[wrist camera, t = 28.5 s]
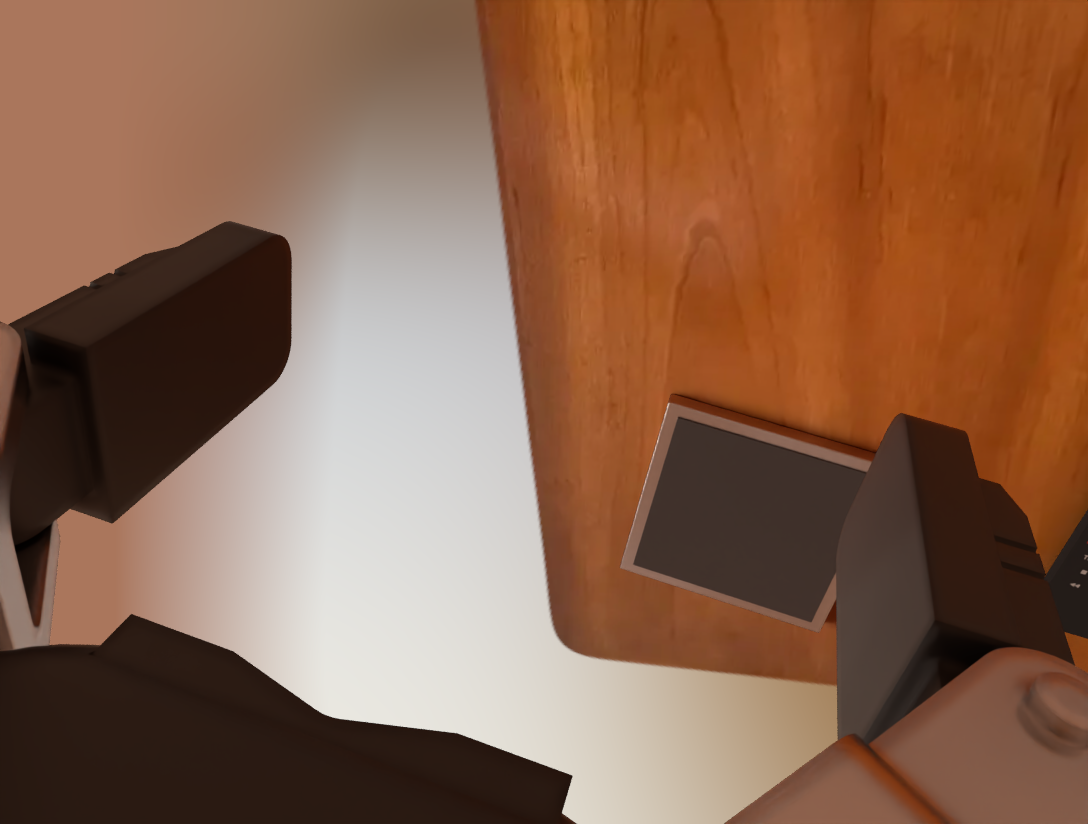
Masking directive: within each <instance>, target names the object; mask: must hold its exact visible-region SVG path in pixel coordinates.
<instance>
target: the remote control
mask: <svg viewBox="0 0 1088 824" xmlns="http://www.w3.org/2000/svg"><path fill="white" fill-rule="evenodd" d="M1044 580H1045V581H1048V583H1049V586H1050V589H1051V593H1052V596H1053V599H1054V602H1055V605H1056V608H1057V611H1058V614H1059V617H1060V621H1061V624H1062V627H1063V630H1064V632H1067V633H1070V634H1074V635H1077V636H1081V637H1084V638H1087V639H1088V510H1087V512H1086V513H1085V515H1084V516H1083V518H1082V519H1081V521H1080V523H1079V524H1078V526H1077V527H1076V529H1075V530H1074V532H1073V534H1072V535H1071V537H1070V538H1069V540H1068V541H1067V543H1066V545H1065V546H1064V548H1063V549H1062V551H1061V553H1060V554H1059V556H1058V557H1057V559H1056V560H1055V562H1054V564H1053V565H1052V567H1051V568H1050V570H1049V571H1048V573H1047V575H1046V576H1045V578H1044Z"/></svg>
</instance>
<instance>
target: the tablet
mask: <svg viewBox="0 0 1088 824" xmlns="http://www.w3.org/2000/svg"><path fill="white" fill-rule="evenodd" d="M875 454H876V453H873V452H869V451H866V450H863V449H859V448H856V447H852V446H849V445H845V444H842V443H839V442H835V441H832V440H828V439H825V438H821V437H818V436H815V435H811V434H808V433H804V432H801V431H797V430H794V429H791V428H787V427H784V426H780V425H777V424H773V423H770V422H767V421H763V420H760V419H756V418H753V417H750V416H746V415H743V414H739V413H736V412H732V411H729V410H726V409H722V408H719V407H715V406H712V405H708V404H705V403H702V402H698V401H695V400H691V399H688V398H684V397H681V396H678V395H674V394H671V395H670V398H669V402H668V405H667V408H666V412H665V415H664V418H663V422H662V425H661V429H660V432H659V435H658V439H657V442H656V446H655V449H654V452H653V456H652V459H651V463H650V466H649V469H648V473H647V476H646V480H645V483H644V486H643V490H642V493H641V497H640V500H639V503H638V507H637V510H636V514H635V517H634V520H633V524H632V527H631V531H630V534H629V537H628V541H627V544H626V548H625V551H624V554H623V558H622V561H621V565H620V568H621V569H624V570H627V571H631V572H634V573H637V574H640V575H643V576H646V577H649V578H652V579H655V580H658V581H661V582H664V583H667V584H670V585H673V586H677V587H680V588H683V589H686V590H689V591H692V592H695V593H698V594H701V595H704V596H707V597H710V598H713V599H716V600H720V601H723V602H726V603H729V604H732V605H735V606H738V607H741V608H744V609H747V610H750V611H753V612H756V613H759V614H762V615H766V616H769V617H772V618H775V619H778V620H781V621H784V622H787V623H790V624H793V625H796V626H799V627H802V628H805V629H808V630H812V631H815V632H818V633H819V632H820V630H821V628H822V626H823V624H824V622H825V620H826V618H827V616H828V614H829V612H830V610H831V608H832V606H833V604H834V603H835V601H836V555H837V548H838V543H839V538H840V534H841V531H842V528H843V525H844V522H845V519H846V516H847V514H848V512H849V509H850V507H851V505H852V503H853V501H854V499H855V497H856V495H857V492H858V490H859V488H860V486H861V484H862V482H863V480H864V478H865V476H866V473H867V471H868V469H869V467H870V465H871V463H872V461H873V459H874V457H875Z"/></svg>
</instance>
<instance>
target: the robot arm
mask: <svg viewBox="0 0 1088 824" xmlns="http://www.w3.org/2000/svg"><path fill="white" fill-rule="evenodd" d="M291 261H292V260H291V251H290V246H289V244H288V242H287V240H286V239H285V238H284V237H283V236H281V235H277V234H274V233H270V232H267V231H263V230H259V229H256V228H253V227H249V226H245V225H242V224H238V223H235V222H231V221H229V222H224V223H222V224H220V225H218V226H216V227H214V228H212V229H210V230H209V231H207V232H205V233H203V234H201V235H199V236H197V237H195V238H193V239H191V240H190V241H188V242H186V243H184V244H182V245H180V246H178V247H175V248H170V249H166V250H161V251H157V252H153V253H149V254H145V255H143V256H141V257H139V258H137V259H135V260H133V261H131V262H129V263H127V264H125V265H123V266H121V267H119V268H117V269H115V273H114V274H112V273H108V274H106V275H104V276H102V277H100V278H98V279H96V280H94V281H92V282H90V286H89V287H87V286H82V287H80V288H78V289H77V290H74V291H73V292H71V293H69V294H67V295H65V296H63V297H61V298H59V299H57V300H55V301H53V302H51V303H49V304H47V305H45V306H43V307H41V308H39V309H38V310H36V311H34V312H32V313H30V314H28V315H26V316H24V317H22V318H20V319H18V320H16V321H14V322H12V323H10V324H9V325H7V324H5V323H2V322H0V824H576V823H575V822H573V821H572V820H570V819H569V818H568V817H566V816H565V815H563V814H562V810H563V807H564V803H565V800H566V796H567V793H568V790H569V786H570V783H571V779H572V775H569V774H567V773H564V772H561V771H558V770H556V769H552V768H550V767H547V766H545V765H542V764H539V763H536V762H533V761H531V760H528V759H526V758H523V757H520V756H517V755H514V754H512V753H509V752H507V751H504V750H501V749H498V748H496V747H493V746H490V745H487V744H485V743H482V742H479V741H476V740H473V739H471V738H468V737H466V736H463V735H460V734H457V733H449V732H441V731H433V730H425V729H417V728H408V727H400V726H392V725H384V724H376V723H368V722H359V721H350V720H343V719H337V718H332V717H329V716H327V715H324V714H322V713H320V712H319V711H317V710H315V709H314V708H313V707H311V706H310V705H308V704H307V703H305V702H304V701H302V700H301V699H300V698H298V697H297V696H295V695H294V694H293V693H291V692H290V691H288V690H287V689H286V688H284V687H283V686H281V685H280V684H278V683H277V682H276V681H274V680H273V679H271V678H270V677H269V676H267V675H266V674H264V673H263V672H262V671H260V670H259V669H257V668H256V667H254V666H253V665H252V664H250V663H249V662H247V661H246V660H245V659H243V658H242V657H240V656H239V655H237V654H236V653H235V652H233V651H230V650H228V649H225V648H223V647H220V646H217V645H214V644H212V643H209V642H206V641H203V640H201V639H198V638H195V637H193V636H190V635H187V634H184V633H182V632H179V631H176V630H174V629H171V628H168V627H165V626H163V625H160V624H157V623H154V622H152V621H149V620H146V619H144V618H140V617H138V616H135V615H133V614H131V615H130V616H129V617H128V618H127V619H126V620H125V621H124V622H123V623H122V624H121V625H120V626H119V627H118V628H117V629H116V630H115V631H114V632H113V633H112V634H111V635H110V636H109V637H108V638H107V639H106V640H105V641H104V643H102V645H69V644H58V645H49V643H50V634H51V624H52V615H53V614H52V613H53V605H54V595H55V586H56V576H57V566H58V557H59V548H60V534H59V529H58V524H57V519H58V518H59V517H60V516H61V515H62V514H64V513H65V512H66V511H68V510H69V509H72V510H76V511H78V512H81V513H84V514H87V515H90V516H92V517H95V518H98V519H101V520H104V521H107V522H109V523H114V522H115V521H116V520H117V519H118V518H120V517H121V516H122V515H123V514H124V513H125V512H126V511H128V510H129V509H130V508H131V507H132V506H133V505H135V504H136V503H137V502H138V501H139V500H140V499H141V498H143V497H144V496H145V495H146V494H147V493H148V492H149V491H151V490H152V489H153V488H154V487H155V486H156V485H157V484H159V483H160V482H161V481H162V480H163V479H165V478H166V477H167V476H168V475H169V474H170V473H171V472H173V471H174V470H175V469H176V468H177V467H178V466H179V465H181V464H182V463H183V462H184V461H185V460H187V459H188V458H189V457H190V456H191V455H192V454H193V453H195V452H196V451H197V450H198V449H199V448H200V447H202V446H203V445H204V444H205V443H206V442H207V441H208V440H209V439H211V438H212V437H213V436H214V435H215V434H217V433H218V432H219V431H220V430H221V429H222V428H223V427H225V426H226V425H227V424H228V423H229V422H230V421H232V420H233V419H234V418H235V417H236V416H237V415H238V414H240V413H241V412H242V411H243V410H244V409H245V408H247V407H248V406H249V405H250V404H251V403H252V402H253V401H254V400H256V399H257V398H258V397H259V396H260V395H261V394H263V393H264V392H265V391H266V390H267V389H268V388H269V387H271V386H272V385H273V384H274V383H275V382H276V381H277V380H278V378H279V377H280V375H281V374H282V372H283V370H284V368H285V366H286V363H287V360H288V357H289V353H290V348H291V269H292V265H291V264H292V262H291ZM1036 549H1037V546H1036V543H1035V540H1034V537H1033V533H1032V530H1031V527H1030V524H1029V521H1028V518H1027V516H1026V515H1025V513H1024V512H1023V511H1022V510H1021V509H1020V508H1019V506H1018V505H1017V504H1016V503H1015V502H1014V500H1013V499H1012V498H1011V497H1010V496H1009V494H1008V493H1007V492H1006V491H1005V490H1004V489H1003V487H1002V486H1001V485H1000V484H998V483H994V482H991V481H987V480H984V479H981V478H979V477H978V473H977V469H976V465H975V462H974V458H973V454H972V450H971V446H970V442H969V438H968V435H967V433H966V432H965V431H963V430H959V429H956V428H952V427H949V426H945V425H942V424H938V423H935V422H931V421H928V420H924V419H921V418H917V417H914V416H910V415H907V414H903V413H900V414H898V415H897V416H896V417H895V418H894V419H893V421H892V422H891V424H890V426H889V427H888V429H887V431H886V433H885V435H884V438H883V440H882V442H881V444H880V446H879V448H878V450H877V452H876V454H875V457H874V459H873V461H872V463H871V465H870V467H869V469H868V471H867V473H866V476H865V478H864V480H863V482H862V484H861V486H860V488H859V490H858V492H857V495H856V497H855V499H854V501H853V503H852V505H851V507H850V509H849V512H848V514H847V516H846V519H845V522H844V525H843V528H842V531H841V534H840V538H839V543H838V548H837V555H836V616H837V719H838V741H836V742H835V743H833V744H832V745H830V746H829V747H828V748H826V749H825V750H824V751H822V752H821V753H819V754H818V755H817V756H816V757H814V758H813V759H811V760H810V761H809V762H807V763H806V764H804V765H803V766H802V767H800V768H799V769H798V770H796V771H795V772H794V773H792V774H791V775H790V776H788V777H787V778H785V779H784V780H783V781H781V782H780V783H779V784H777V785H776V786H775V787H773V788H772V789H771V790H769V791H768V792H766V793H765V794H764V795H762V796H761V797H760V798H758V799H757V800H755V801H754V802H753V803H751V804H750V805H749V806H747V807H746V808H745V809H743V810H742V811H741V812H739V813H738V814H736V815H735V816H734V817H732V818H731V819H730V820H728V821H727V822H726V823H724V824H1088V673H1086V672H1085V671H1083V670H1082V669H1080V668H1078V667H1076V666H1075V664H1074V661H1073V658H1072V655H1071V652H1070V649H1069V645H1068V642H1067V639H1066V636H1065V633H1064V630H1063V627H1062V624H1061V621H1060V617H1059V614H1058V611H1057V608H1056V605H1055V602H1054V599H1053V596H1052V593H1051V589H1050V586H1049V583H1048V581H1045V580H1044V577H1045V575H1046V574H1045V571H1044V568H1043V565H1042V561H1041V558H1040V555H1039V554H1036Z"/></svg>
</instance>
